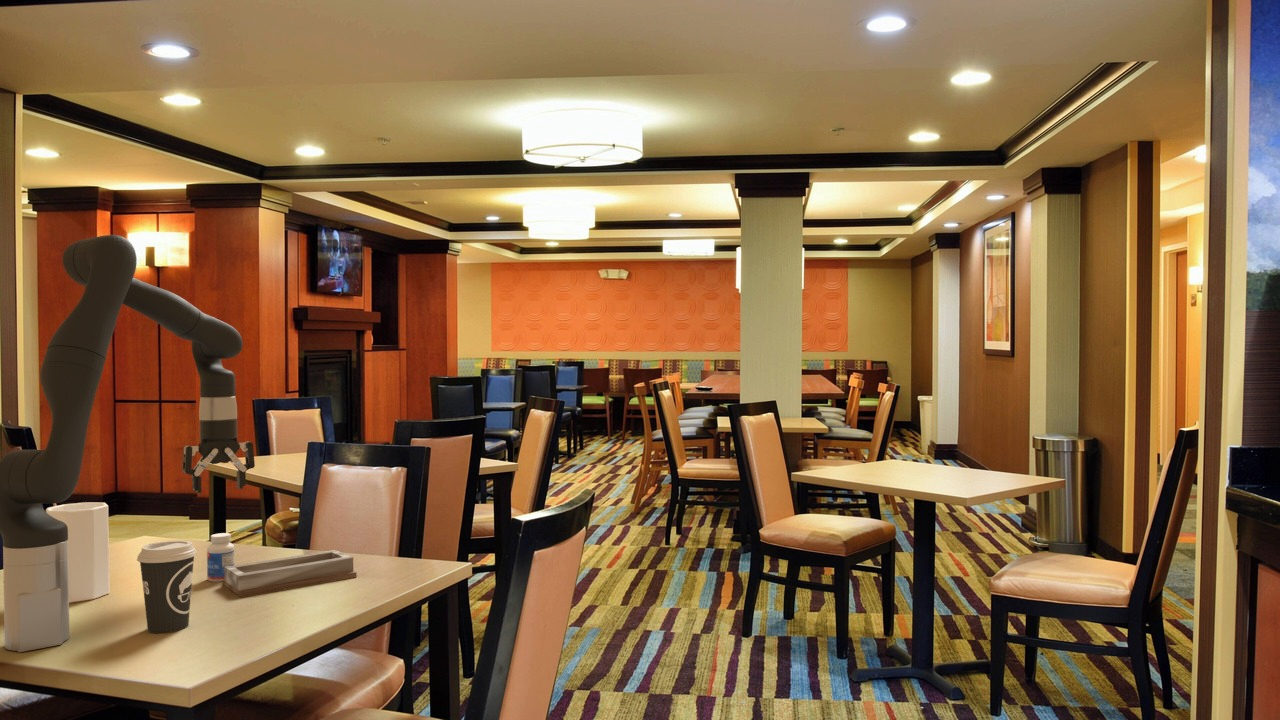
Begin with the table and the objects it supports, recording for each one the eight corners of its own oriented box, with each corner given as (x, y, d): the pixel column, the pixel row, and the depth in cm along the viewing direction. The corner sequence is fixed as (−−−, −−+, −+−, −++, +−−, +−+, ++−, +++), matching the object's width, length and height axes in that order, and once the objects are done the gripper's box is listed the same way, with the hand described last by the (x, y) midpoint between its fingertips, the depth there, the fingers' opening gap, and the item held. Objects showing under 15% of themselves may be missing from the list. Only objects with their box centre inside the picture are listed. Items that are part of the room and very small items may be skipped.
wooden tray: (356, 577, 193) (356, 558, 193) (241, 597, 178) (241, 577, 178) (332, 565, 204) (332, 548, 204) (222, 583, 188) (222, 565, 188)
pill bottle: (201, 580, 192) (201, 535, 192) (223, 574, 197) (223, 531, 196) (218, 583, 189) (217, 538, 189) (239, 577, 194) (239, 533, 194)
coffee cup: (184, 616, 165) (182, 537, 165) (207, 626, 159) (206, 543, 159) (129, 629, 158) (127, 546, 157) (151, 639, 152) (150, 553, 151)
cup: (36, 606, 173) (35, 512, 173) (58, 591, 184) (56, 503, 184) (100, 601, 176) (99, 509, 176) (117, 587, 187) (116, 500, 187)
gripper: (187, 420, 185) (188, 496, 185) (257, 416, 194) (258, 489, 194) (178, 418, 191) (179, 492, 191) (247, 414, 200) (248, 485, 200)
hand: (219, 490), depth 193 cm, fingers open, 8 cm apart
